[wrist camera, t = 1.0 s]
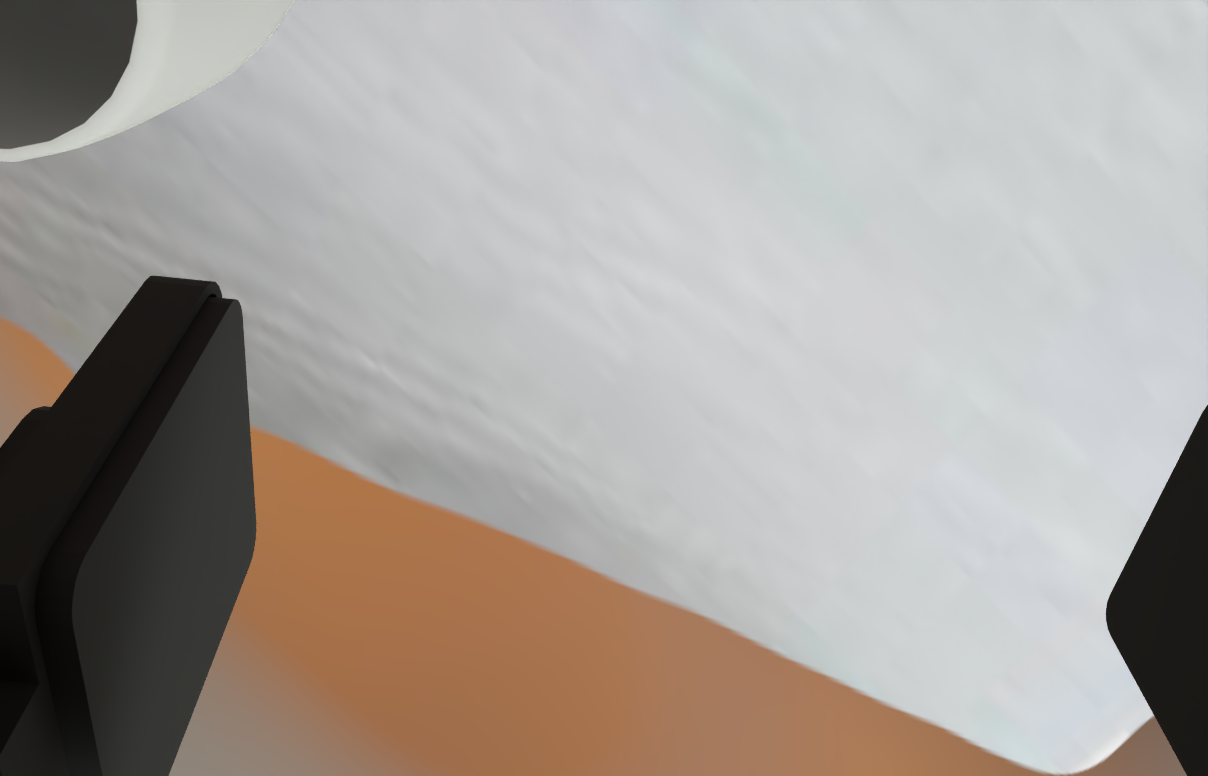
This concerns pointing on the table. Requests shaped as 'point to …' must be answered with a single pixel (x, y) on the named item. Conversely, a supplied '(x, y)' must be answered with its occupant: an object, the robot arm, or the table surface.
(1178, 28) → the table surface
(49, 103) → the wineglass
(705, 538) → the table surface
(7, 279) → the table surface
